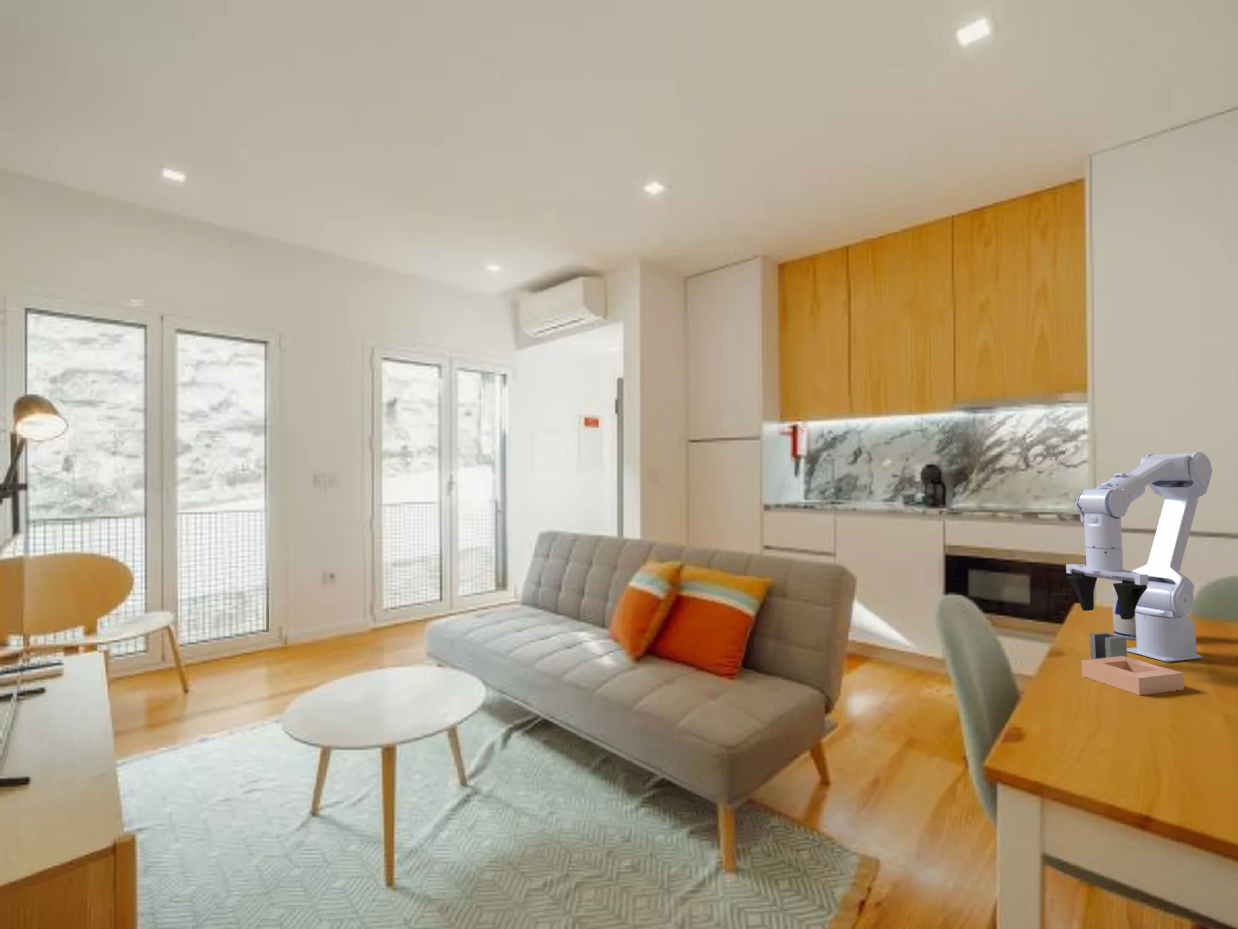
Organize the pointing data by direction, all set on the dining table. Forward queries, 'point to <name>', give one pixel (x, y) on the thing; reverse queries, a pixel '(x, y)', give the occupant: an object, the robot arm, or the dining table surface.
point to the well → (1132, 675)
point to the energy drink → (1122, 620)
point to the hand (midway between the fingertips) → (1106, 614)
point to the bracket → (1107, 645)
